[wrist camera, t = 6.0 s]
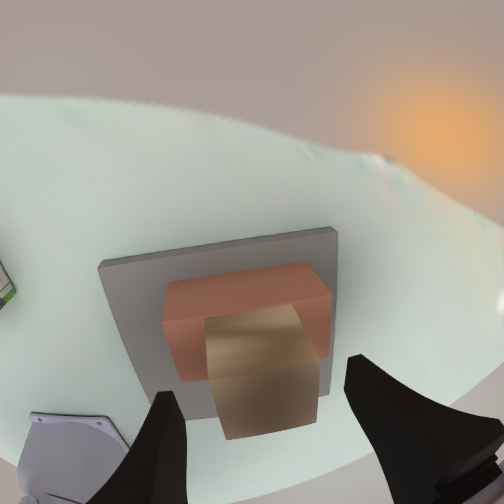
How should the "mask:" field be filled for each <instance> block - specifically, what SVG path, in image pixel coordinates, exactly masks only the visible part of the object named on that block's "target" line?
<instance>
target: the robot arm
mask: <svg viewBox="0 0 504 504" xmlns="http://www.w3.org/2000/svg"><path fill="white" fill-rule="evenodd" d="M344 392H345V394H346V397H347V400H348V402H349V405H350V407H351V409H352V411H353V413H354V415H355V417H356V418H357V420H358V422H359V424H360V425H361V427H362V429H363V431H364V432H365V434H366V436H367V438H368V439H369V441H370V443H371V445H372V447H373V449H374V451H375V453H376V455H377V457H378V460H379V462H380V464H381V467H382V469H383V472H384V475H385V478H386V480H387V483H388V486H389V489H390V492H391V495H392V498H393V501H394V504H504V460H503V461H502V462H501V463H500V464H499V465H497V463H496V462H495V461H497V459H498V457H497V456H496V455H495V452H496V451H497V450H498V449H499V447H500V446H501V445H502V444H503V443H504V425H503V424H502V423H501V421H500V420H499V419H495V418H488V417H482V416H477V415H473V414H469V413H465V412H461V411H458V410H455V409H452V408H449V407H447V406H444V405H442V404H439V403H437V402H435V401H433V400H431V399H428V398H426V397H424V396H422V395H420V394H419V393H417V392H415V391H413V390H412V389H410V388H408V387H407V386H405V385H404V384H402V383H401V382H399V381H398V380H396V379H395V378H393V377H392V376H390V375H389V374H387V373H386V372H385V371H383V370H382V369H381V368H379V367H378V366H377V365H375V364H374V363H373V362H371V361H370V360H369V359H367V358H366V357H365V356H363V355H362V354H359V355H355V356H352V357H348V361H347V369H346V377H345V384H344ZM29 418H30V419H31V421H32V422H33V423H32V426H31V428H30V431H29V434H28V436H27V439H26V442H25V445H24V448H23V451H22V454H21V457H20V460H19V463H18V480H19V484H20V487H21V489H22V490H23V492H24V494H25V495H26V496H25V497H22V498H21V500H20V502H19V504H188V501H187V490H186V470H187V435H186V425H185V419H184V417H183V414H182V412H181V410H180V407H179V405H178V402H177V400H176V397H175V395H174V392H173V390H171V391H160V392H157V394H156V396H155V398H154V401H153V403H152V406H151V408H150V410H149V412H148V415H147V417H146V419H145V421H144V423H143V425H142V427H141V429H140V431H139V433H138V435H137V437H136V439H135V441H134V442H133V444H132V446H131V448H130V449H129V448H128V446H127V445H126V444H125V442H124V441H123V439H122V438H121V437H120V435H119V434H118V432H117V431H116V429H115V428H114V426H113V425H112V423H111V422H110V421H109V419H107V418H105V417H74V416H56V415H44V414H33V413H30V415H29Z"/></svg>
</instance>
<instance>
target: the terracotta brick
mask: <svg viewBox="0 0 504 504" xmlns="http://www.w3.org/2000/svg"><path fill="white" fill-rule="evenodd" d="M287 304H292V306H293V308H294V309H295V311H296V313H297V315H298V317H299V319H300V321H301V323H302V325H303V327H304V329H305V331H306V333H307V335H308V337H309V339H310V340H311V342H312V344H313V346H314V348H315V350H316V352H317V354H318V356H319V358H324V357H328V356H329V346H330V329H331V307H332V293H331V292H330V291H329V289H328V288H327V287H326V285H325V284H324V283H323V282H322V280H321V279H320V278H319V276H318V275H317V274H316V273H315V271H314V270H313V269H312V267H311V266H310V265H309V264H308V262H307V261H301V262H295V263H289V264H283V265H276V266H270V267H264V268H258V269H251V270H245V271H239V272H232V273H226V274H219V275H213V276H206V277H199V278H193V279H186V280H179V281H173V282H168V286H167V291H166V297H165V303H164V308H163V314H162V320H161V323H162V326H163V330H164V333H165V336H166V339H167V342H168V345H169V349H170V352H171V355H172V358H173V361H174V364H175V366H176V369H177V372H178V375H179V378H180V381H181V383H182V382H191V381H199V380H207V379H208V369H207V353H206V336H205V318H210V317H216V316H223V315H229V314H235V313H241V312H247V311H253V310H259V309H265V308H271V307H276V306H282V305H287Z"/></svg>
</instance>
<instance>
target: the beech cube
mask: <svg viewBox="0 0 504 504" xmlns="http://www.w3.org/2000/svg"><path fill="white" fill-rule="evenodd" d="M205 336H206V353H207V369H208V382H209V385H210V389H211V392H212V395H213V399H214V402H215V406H216V409H217V412H218V415H219V419H220V422H221V425H222V428H223V431H224V434H225V438H226V440H232V439H238V438H245V437H251V436H257V435H262V434H267V433H273V432H277V431H282V430H287V429H291V428H296V427H300V426H304V425H308V424H312V423H316V419H317V407H318V393H319V377H320V358H319V356H318V354H317V352H316V350H315V348H314V346H313V344H312V342H311V340H310V339H309V337H308V335H307V333H306V331H305V329H304V327H303V325H302V323H301V321H300V319H299V317H298V315H297V313H296V311H295V309H294V308H293V306H292V304H287V305H282V306H276V307H271V308H265V309H259V310H253V311H247V312H241V313H235V314H229V315H223V316H216V317H210V318H205Z"/></svg>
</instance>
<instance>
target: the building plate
mask: <svg viewBox="0 0 504 504" xmlns="http://www.w3.org/2000/svg"><path fill="white" fill-rule="evenodd" d="M337 250H338V232H337V231H336V230H335V229H333V228H332V227H325V228H318V229H311V230H304V231H296V232H289V233H282V234H276V235H269V236H262V237H255V238H248V239H241V240H235V241H228V242H221V243H215V244H208V245H201V246H195V247H188V248H182V249H175V250H169V251H163V252H156V253H150V254H144V255H137V256H131V257H125V258H119V259H113V260H107V261H102V262H101V263H100V265H99V266H98V268H97V269H98V272H99V275H100V279H101V282H102V285H103V288H104V291H105V294H106V297H107V300H108V303H109V306H110V308H111V311H112V314H113V317H114V320H115V322H116V325H117V328H118V330H119V333H120V335H121V338H122V340H123V343H124V345H125V348H126V350H127V353H128V355H129V357H130V360H131V362H132V364H133V367H134V369H135V371H136V374H137V376H138V378H139V380H140V382H141V385H142V387H143V389H144V391H145V393H146V395H147V397H148V399H149V401H150V403H151V405H152V403H153V401H154V398H155V396H156V394H157V392H160V391H171V390H173V392H174V395H175V397H176V400H177V402H178V405H179V407H180V410H181V412H182V414H183V417H184V419H185V420H194V419H203V418H212V417H219V415H218V412H217V409H216V406H215V402H214V399H213V395H212V392H211V389H210V385H209V382H208V379H207V380H199V381H191V382H182V383H181V381H180V378H179V375H178V372H177V369H176V366H175V364H174V361H173V358H172V355H171V352H170V349H169V345H168V342H167V339H166V336H165V333H164V330H163V326H162V323H161V320H162V314H163V308H164V303H165V297H166V291H167V286H168V282H173V281H179V280H186V279H193V278H199V277H206V276H213V275H219V274H226V273H232V272H239V271H245V270H251V269H258V268H264V267H270V266H276V265H283V264H289V263H295V262H301V261H307V262H308V264H309V265H310V266H311V267H312V269H313V270H314V271H315V273H316V274H317V275H318V276H319V278H320V279H321V280H322V282H323V283H324V284H325V285H326V287H327V288H328V289H329V291H330V292H331V293H332V307H331V329H330V346H329V356H328V357H324V358H320V377H319V393H318V397H321V396H325V395H329V391H330V382H331V371H332V360H333V347H334V332H335V315H336V293H337Z"/></svg>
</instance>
